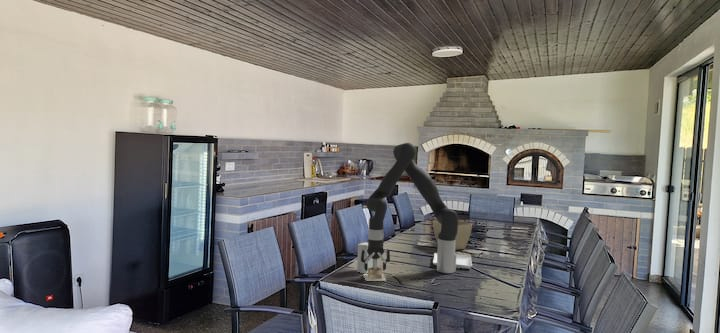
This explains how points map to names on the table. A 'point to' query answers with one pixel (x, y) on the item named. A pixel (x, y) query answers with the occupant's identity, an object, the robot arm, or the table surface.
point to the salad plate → (458, 261)
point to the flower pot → (462, 233)
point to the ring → (374, 273)
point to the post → (374, 269)
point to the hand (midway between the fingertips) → (375, 270)
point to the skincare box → (361, 264)
